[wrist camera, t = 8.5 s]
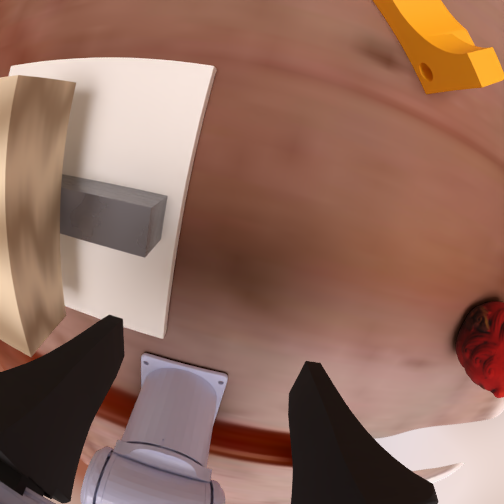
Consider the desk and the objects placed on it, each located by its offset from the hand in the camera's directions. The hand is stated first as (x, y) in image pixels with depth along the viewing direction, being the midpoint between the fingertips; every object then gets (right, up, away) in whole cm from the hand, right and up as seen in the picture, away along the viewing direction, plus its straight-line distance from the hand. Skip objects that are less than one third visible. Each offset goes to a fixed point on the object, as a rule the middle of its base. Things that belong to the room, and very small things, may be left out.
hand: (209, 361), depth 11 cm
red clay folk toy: (+24, -3, +12) cm, 27 cm away
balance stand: (-12, +9, +8) cm, 17 cm away
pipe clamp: (+13, +21, +3) cm, 24 cm away
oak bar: (-12, +7, +4) cm, 15 cm away
